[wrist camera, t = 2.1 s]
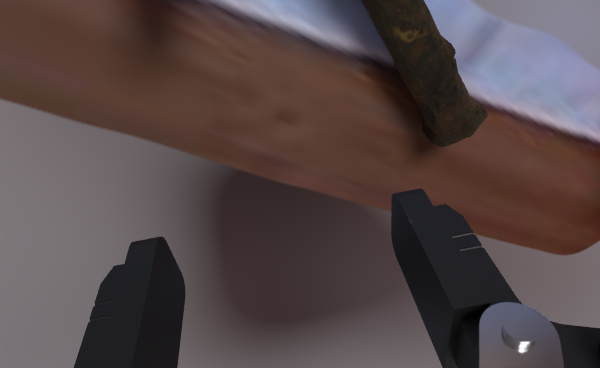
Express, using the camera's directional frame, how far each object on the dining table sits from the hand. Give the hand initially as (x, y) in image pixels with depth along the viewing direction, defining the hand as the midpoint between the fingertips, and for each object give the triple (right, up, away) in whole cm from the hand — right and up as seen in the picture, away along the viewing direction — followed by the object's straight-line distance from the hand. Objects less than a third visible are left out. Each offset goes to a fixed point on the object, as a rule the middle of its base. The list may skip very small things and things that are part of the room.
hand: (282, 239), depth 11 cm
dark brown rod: (+5, +12, +14) cm, 20 cm away
